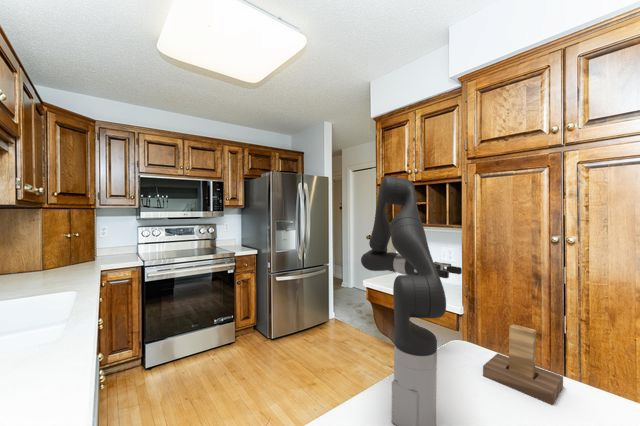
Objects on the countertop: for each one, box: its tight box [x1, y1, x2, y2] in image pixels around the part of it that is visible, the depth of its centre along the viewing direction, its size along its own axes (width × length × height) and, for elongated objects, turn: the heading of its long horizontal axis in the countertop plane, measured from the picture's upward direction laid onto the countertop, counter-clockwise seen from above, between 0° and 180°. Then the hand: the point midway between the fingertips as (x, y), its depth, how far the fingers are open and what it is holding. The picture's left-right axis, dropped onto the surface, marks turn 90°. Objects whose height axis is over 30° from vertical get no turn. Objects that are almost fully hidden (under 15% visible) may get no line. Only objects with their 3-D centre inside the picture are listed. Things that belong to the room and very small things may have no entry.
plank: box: [508, 324, 537, 380], centre depth 81 cm, size 3×6×15 cm, turn 41°
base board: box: [482, 352, 564, 406], centre depth 81 cm, size 11×16×3 cm
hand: (455, 273), depth 91 cm, fingers open, 8 cm apart
